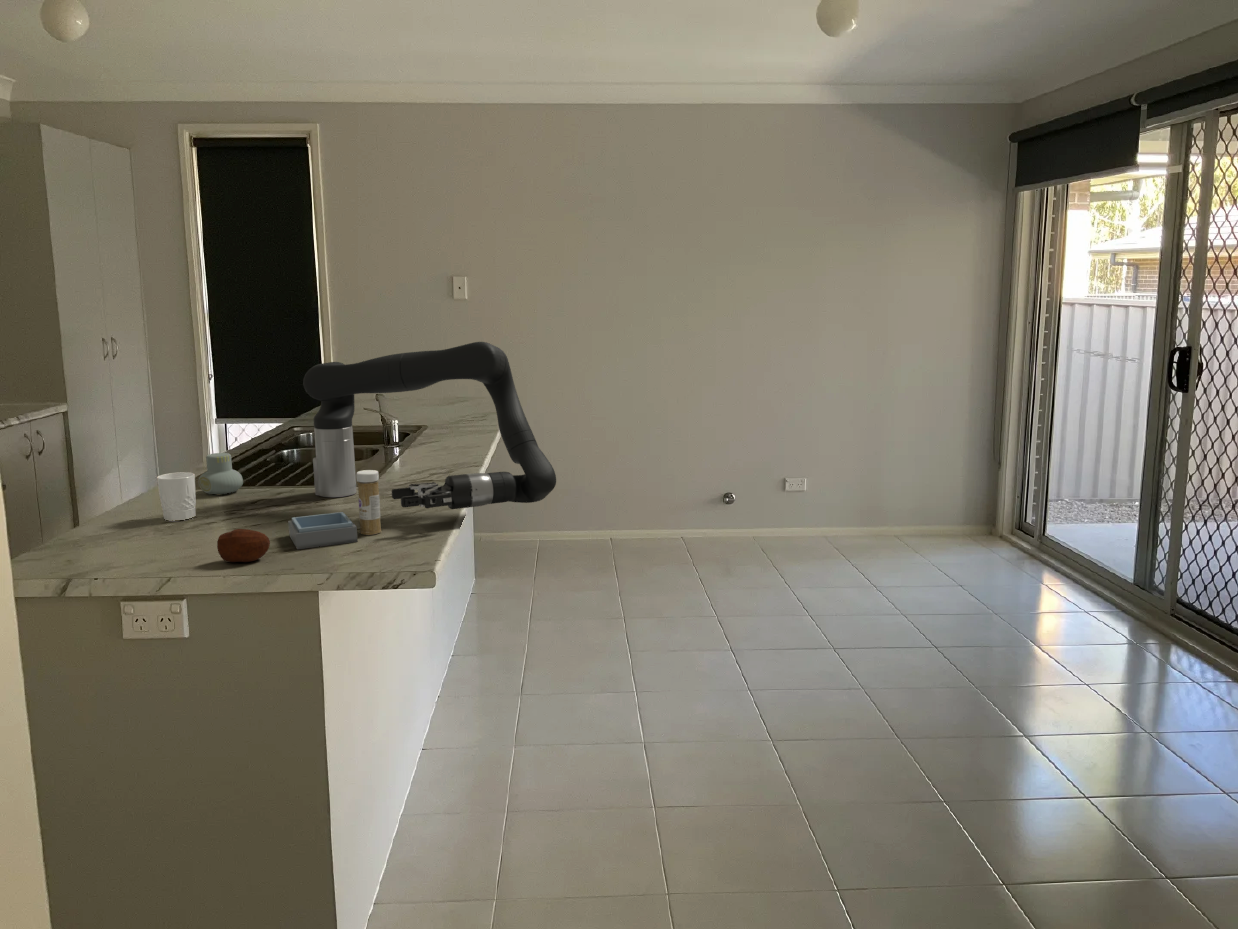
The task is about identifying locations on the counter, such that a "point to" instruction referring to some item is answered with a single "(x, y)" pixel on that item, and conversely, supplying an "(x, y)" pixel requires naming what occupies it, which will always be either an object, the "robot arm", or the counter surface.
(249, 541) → the potato
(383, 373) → the robot arm
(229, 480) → the air freshener
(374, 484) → the sprinkles bottle
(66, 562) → the counter surface
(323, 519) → the blue square tray
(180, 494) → the white cup
